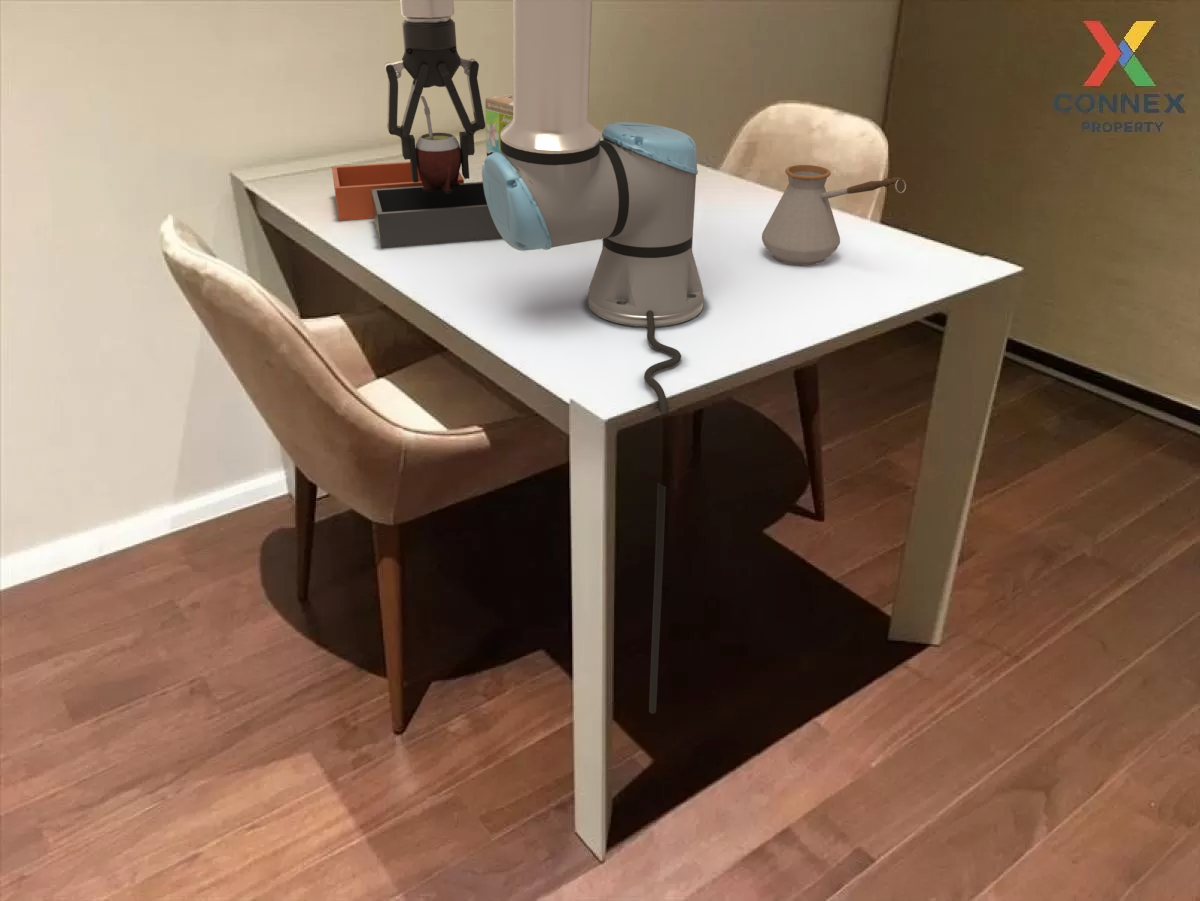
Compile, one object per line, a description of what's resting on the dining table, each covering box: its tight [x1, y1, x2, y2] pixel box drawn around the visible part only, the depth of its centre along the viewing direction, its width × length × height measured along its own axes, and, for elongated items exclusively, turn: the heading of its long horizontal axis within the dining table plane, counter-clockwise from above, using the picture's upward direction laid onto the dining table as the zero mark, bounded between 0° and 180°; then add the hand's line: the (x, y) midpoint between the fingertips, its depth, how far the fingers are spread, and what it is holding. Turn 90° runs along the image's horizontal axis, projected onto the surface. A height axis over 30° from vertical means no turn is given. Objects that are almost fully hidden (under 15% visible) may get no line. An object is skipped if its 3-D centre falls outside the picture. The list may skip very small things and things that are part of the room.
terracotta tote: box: [331, 161, 465, 221], centre depth 175 cm, size 13×21×5 cm, turn 105°
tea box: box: [484, 92, 513, 157], centre depth 186 cm, size 15×10×15 cm, turn 137°
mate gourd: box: [415, 95, 462, 194], centre depth 158 cm, size 8×8×15 cm
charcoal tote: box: [371, 181, 504, 249], centre depth 164 cm, size 13×21×5 cm, turn 105°
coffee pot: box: [761, 164, 907, 266], centre depth 148 cm, size 21×12×15 cm, turn 43°
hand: (440, 178), depth 161 cm, fingers closed on mate gourd, 7 cm apart
